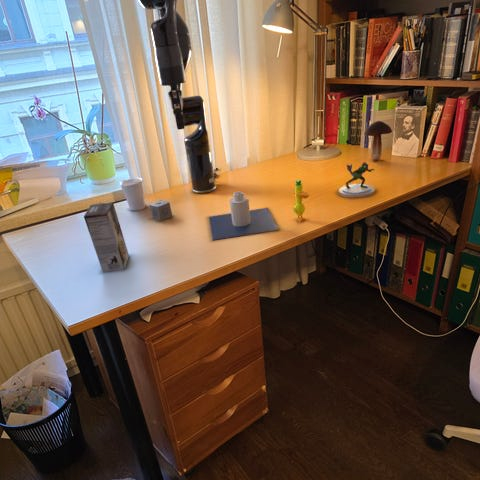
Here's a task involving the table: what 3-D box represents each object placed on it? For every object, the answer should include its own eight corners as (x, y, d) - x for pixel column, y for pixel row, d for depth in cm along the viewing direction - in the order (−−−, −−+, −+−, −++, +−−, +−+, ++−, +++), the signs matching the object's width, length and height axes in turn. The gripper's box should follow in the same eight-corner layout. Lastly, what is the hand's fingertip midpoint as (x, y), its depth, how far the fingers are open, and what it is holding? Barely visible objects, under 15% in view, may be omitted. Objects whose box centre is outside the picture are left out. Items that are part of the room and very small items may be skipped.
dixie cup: (153, 205, 156) (146, 179, 150) (135, 213, 151) (127, 185, 146) (140, 202, 161) (133, 176, 155) (122, 209, 156) (115, 183, 151)
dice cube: (164, 213, 147) (161, 200, 144) (172, 216, 144) (169, 202, 141) (152, 218, 144) (149, 204, 141) (160, 221, 141) (157, 206, 138)
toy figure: (312, 221, 126) (312, 181, 119) (303, 224, 124) (302, 184, 117) (299, 216, 131) (297, 177, 124) (290, 219, 129) (288, 180, 122)
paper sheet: (209, 217, 139) (208, 216, 139) (267, 208, 139) (267, 207, 139) (212, 240, 122) (212, 239, 122) (279, 230, 123) (279, 229, 123)
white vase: (231, 221, 133) (228, 191, 128) (249, 218, 133) (246, 189, 128) (233, 227, 128) (229, 197, 123) (251, 224, 128) (248, 194, 123)
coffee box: (107, 258, 120) (90, 204, 111) (129, 255, 120) (113, 201, 111) (101, 272, 112) (82, 216, 103) (125, 269, 112) (107, 212, 103)
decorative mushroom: (363, 164, 170) (365, 124, 161) (361, 157, 178) (363, 119, 170) (391, 162, 167) (394, 122, 159) (387, 155, 176) (391, 117, 168)
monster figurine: (360, 199, 136) (362, 167, 130) (331, 194, 144) (332, 163, 138) (381, 189, 142) (384, 158, 136) (352, 184, 150) (353, 155, 144)
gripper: (183, 64, 111) (193, 128, 120) (183, 62, 123) (192, 121, 132) (155, 67, 111) (168, 132, 120) (158, 65, 123) (169, 124, 132)
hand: (181, 126), depth 126 cm, fingers open, 8 cm apart
